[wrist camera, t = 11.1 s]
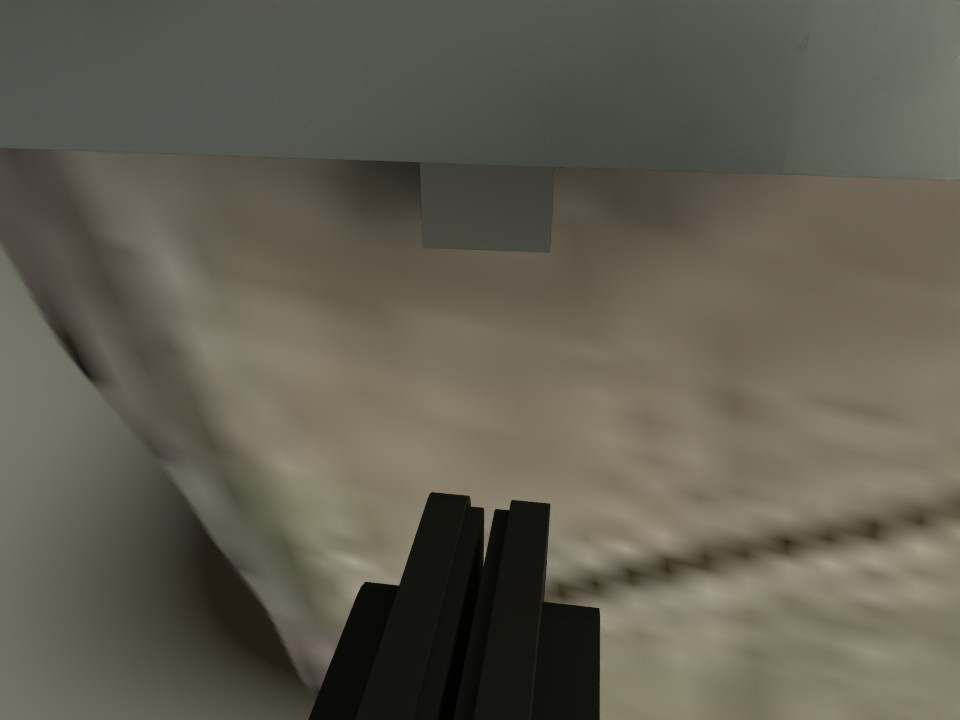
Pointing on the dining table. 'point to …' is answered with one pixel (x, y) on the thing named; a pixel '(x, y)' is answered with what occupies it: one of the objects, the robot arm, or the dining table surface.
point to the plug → (486, 206)
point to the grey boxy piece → (495, 82)
